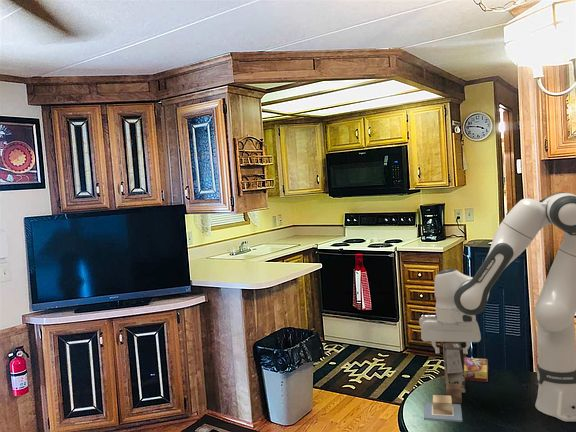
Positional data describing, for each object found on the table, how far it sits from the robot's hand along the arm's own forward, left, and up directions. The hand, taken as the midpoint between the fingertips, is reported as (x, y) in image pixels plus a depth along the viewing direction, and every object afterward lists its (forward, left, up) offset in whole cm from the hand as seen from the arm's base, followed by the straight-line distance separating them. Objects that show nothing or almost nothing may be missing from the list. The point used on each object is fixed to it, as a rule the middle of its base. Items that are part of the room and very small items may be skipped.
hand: (451, 353), depth 173 cm
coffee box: (-1, -11, -17) cm, 20 cm away
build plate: (+4, +11, -17) cm, 20 cm away
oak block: (+4, +11, -16) cm, 20 cm away
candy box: (-8, -18, -15) cm, 25 cm away
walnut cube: (0, 0, -17) cm, 17 cm away
